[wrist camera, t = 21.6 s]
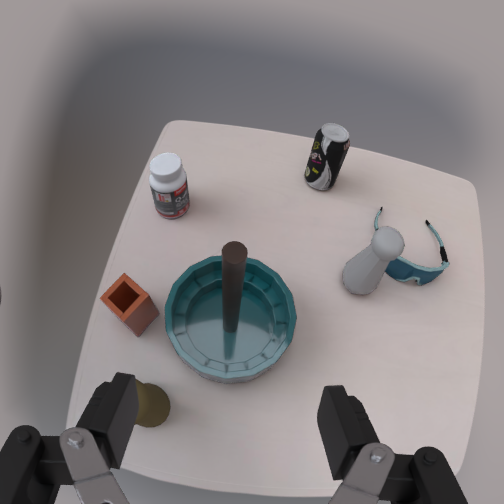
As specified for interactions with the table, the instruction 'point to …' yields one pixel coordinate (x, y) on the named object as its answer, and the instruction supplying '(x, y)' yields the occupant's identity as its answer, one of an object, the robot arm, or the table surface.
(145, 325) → the holder
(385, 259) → the salt shaker
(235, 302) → the stick
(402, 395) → the table surface
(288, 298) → the bowl
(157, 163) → the pill bottle
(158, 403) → the cork
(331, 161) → the beverage can
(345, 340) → the table surface
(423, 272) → the sunglasses
